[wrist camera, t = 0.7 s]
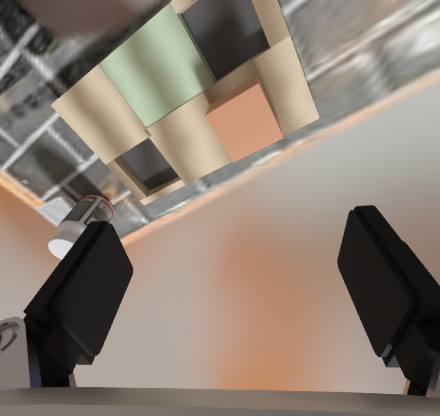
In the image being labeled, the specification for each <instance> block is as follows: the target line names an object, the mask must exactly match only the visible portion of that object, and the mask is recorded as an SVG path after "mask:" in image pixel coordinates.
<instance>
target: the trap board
mask: <svg viewBox="0 0 440 416" xmlns="http://www.w3.org/2000/svg"><path fill="white" fill-rule="evenodd" d="M255 76H258V78H259V81H260V83H261V85H262V87H263V89H264V92H265V94H266V96H267V98H268V100H269V103H270V105H271V107H272V109H273V111H274V114H275V116H276V118H277V120H278V122H279V125H280V128H281V131H282V134H283V136H285V135H287V134H289V133H291V132H293V131H295V130H297V129H299V128H301V127H303V126H305V125H307V124H309V123H311V122H313V121H315V120H317V119H319V115H318V113H317V110H316V107H315V104H314V101H313V99H312V96H311V93H310V90H309V87H308V84H307V82H306V79H305V76H304V73H303V70H302V68H301V65H300V62H299V59H298V56H297V54H296V51H295V48H294V45H293V42H292V40H291V37H290V34H289V31H288V28H287V26H286V23H285V20H284V17H283V14H282V11H281V9H280V6H279V3H278V0H172V1H171V2H170V3H169V4H168V5H167V6H165V7H164V8H163V9H162V10H161V11H160V12H159V13H157V14H156V15H155V16H154V17H153V18H152V19H150V20H149V21H148V22H147V23H146V24H145V25H143V26H142V27H141V28H140V29H139V30H138V31H136V32H135V33H134V34H133V35H132V36H131V37H130V38H128V39H127V40H126V41H125V42H124V43H123V44H121V45H120V46H119V47H118V48H117V49H116V50H114V51H113V52H112V53H111V54H110V55H109V56H108V57H106V58H105V59H104V60H103V61H102V62H101V63H99V64H98V65H97V66H96V67H94V68H93V69H92V70H91V71H90V72H89V73H88V74H86V75H85V76H84V77H83V78H82V79H81V80H79V81H78V82H77V83H76V84H75V85H74V86H72V87H71V88H70V89H69V90H68V91H67V92H65V93H64V94H63V95H62V96H61V97H60V98H59V99H57V100H56V101H55V102H54V103H53V104H52V105H51V106H52V108H53V109H54V110H55V111H56V112H57V113H58V114H59V115H60V116H61V117H62V118H63V119H64V120H65V121H66V123H67V124H68V125H69V126H70V127H71V128H72V129H73V130H74V131H75V132H76V133H77V134H78V135H79V136H80V138H81V139H82V140H83V141H84V142H85V143H86V144H87V145H88V146H89V147H90V148H91V149H92V150H93V151H94V153H95V154H96V155H97V156H98V157H99V158H100V159H101V160H102V161H103V162H104V163H105V164H106V165H107V166H108V168H109V169H110V170H111V171H112V172H113V173H114V174H115V175H116V176H117V177H118V178H119V179H120V180H121V181H122V182H123V184H124V185H125V186H126V187H127V188H128V189H129V190H130V191H131V192H132V193H133V194H134V195H135V196H136V197H137V199H138V200H139V201H140V202H141V203H142V204H143V205H146V204H148V203H150V202H152V201H154V200H156V199H158V198H160V197H162V196H164V195H166V194H168V193H170V192H172V191H174V190H176V189H178V188H180V187H182V186H184V185H186V184H188V183H190V182H192V181H194V180H196V179H198V178H200V177H202V176H204V175H206V174H208V173H210V172H212V171H214V170H216V169H218V168H220V167H222V166H224V165H226V164H228V163H230V162H232V159H231V158H230V156H229V155H228V153H227V151H226V150H225V148H224V146H223V145H222V143H221V141H220V140H219V138H218V136H217V135H216V133H215V132H214V130H213V128H212V127H211V125H210V123H209V122H208V120H207V118H206V117H205V114H206V112H207V109H208V107H209V105H210V104H211V103H213V102H215V101H216V100H218V99H219V98H221V97H223V96H224V95H226V94H228V93H229V92H231V91H232V90H234V89H236V88H237V87H239V86H240V85H242V84H244V83H245V82H247V81H249V80H250V79H252V78H253V77H255Z"/></svg>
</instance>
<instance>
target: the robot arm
mask: <svg viewBox="0 0 440 416" xmlns="http://www.w3.org/2000/svg"><path fill="white" fill-rule="evenodd" d="M337 263H338V268H339V270H340V273H341V275H342V278H343V280H344V282H345V285H346V287H347V289H348V292H349V294H350V296H351V299H352V301H353V303H354V306H355V308H356V310H357V313H358V315H359V317H360V320H361V322H362V324H363V327H364V329H365V331H366V333H367V336H368V338H369V340H370V343H371V345H372V348H373V350H374V352H375V354H376V355H377V356H378V357H382V359H383V361H384V364H385V366H386V367H400V368H401V370H402V372H403V374H404V376H405V378H407V381H406V385H405V388H404V391H403V394H402V395H401V394H377V393H353V392H351V393H350V392H316V391H313V392H312V391H275V390H272V391H271V390H227V389H174V388H173V389H172V388H104V387H77V386H76V382H75V377H74V373H73V370H74V368H75V366H76V364H78V365H92V362H93V360H94V358H95V356H97V355H98V354H99V353H100V351H101V349H102V347H103V345H104V342H105V340H106V337H107V335H108V332H109V330H110V328H111V325H112V323H113V320H114V318H115V316H116V313H117V311H118V309H119V306H120V304H121V301H122V299H123V297H124V294H125V292H126V289H127V287H128V284H129V282H130V280H131V277H132V275H133V267H132V264H131V262H130V260H129V258H128V256H127V254H126V252H125V250H124V248H123V246H122V243H121V241H120V239H119V237H118V235H117V233H116V231H115V229H114V227H113V225H112V224H109V222H108V221H92V222H90V223H89V224H88V226H87V227H86V228H85V230H84V231H83V232H82V234H81V235H80V236H79V238H78V239H77V240H76V242H75V243H74V244H73V246H72V247H71V248H70V250H69V251H68V252H67V254H66V255H65V256H64V258H63V259H62V261H61V262H60V263H59V265H58V266H57V267H56V268H55V270H54V271H53V272H52V274H51V275H50V277H49V278H48V279H47V281H46V282H45V283H44V285H43V286H42V287H41V288H40V290H39V291H38V292H37V294H36V295H35V297H34V298H33V299H32V301H31V302H30V303H29V305H28V306H27V307H26V309H25V310H24V313H25V314H26V316H25V318H24V319H21V318H19V317H12V318H7V319H4V320H2V321H0V416H440V286H439V284H438V283H437V282H436V281H435V279H434V278H433V277H432V275H431V274H430V273H429V272H428V271H427V269H426V268H425V267H424V265H423V264H422V263H421V261H420V260H419V259H418V258H417V257H416V255H415V254H414V253H413V251H412V250H411V249H410V248H409V246H408V245H407V244H406V243H405V242H404V241H402V240H401V239H400V237H399V236H398V235H397V234H396V232H395V231H394V230H393V228H392V227H391V226H390V225H389V223H388V222H387V221H386V220H385V218H384V217H383V216H382V214H381V213H380V212H379V210H377V208H376V207H375V206H373V205H370V206H369V205H368V206H356V207H355V208H354V210H351V211H350V212H349V215H348V219H347V223H346V227H345V231H344V235H343V240H342V244H341V248H340V252H339V256H338V261H337Z"/></svg>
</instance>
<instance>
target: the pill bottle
mask: <svg viewBox="0 0 440 416" xmlns="http://www.w3.org/2000/svg"><path fill="white" fill-rule="evenodd" d="M113 217H114V209H113V206H112V205H111V204H110V202H108V201H107V200H106V199H104V198H103V197H100V196H97V195H87V196H85V197H83V198H82V199H81V200H80V201H79V202H78V203H77V205H76V206H75V207H74V208H73V209H72V210H71V211H70V212H69V214H68V215H67V216H66V217H65V218H64V219H63V220H62V222H61V223H60V224H59V225H58V227H57V229H56V235H55V236H54V237H53V238H52V239H51V240H50V242H49V244H48V247H49V250H50V251H51V253H53V255H55V256H56V257H58V258H60V259H61V260H62V259H63V258H64V256H65V255H66V254H67V252H68V251H69V250H70V248H71V247H72V246H73V244H74V243H75V242H76V240H77V239H78V238H79V236H80V235H81V234H82V232H83V231H84V230H85V228H86V227H87V226H88V224H89V223H90V222H92V221H108V222H109V223H110V222H111V220H112V218H113Z"/></svg>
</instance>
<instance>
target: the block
mask: <svg viewBox="0 0 440 416" xmlns="http://www.w3.org/2000/svg"><path fill="white" fill-rule="evenodd" d="M205 117H206V118H207V120H208V122H209V123H210V125H211V127H212V128H213V130H214V132H215V133H216V135H217V136H218V138H219V140H220V141H221V143H222V145H223V146H224V148H225V150H226V151H227V153H228V155H229V156H230V158H231V159H232V161H233V163H234V162H236V161H238V160H240V159H242V158H244V157H246V156H248V155H250V154H252V153H254V152H256V151H258V150H260V149H262V148H264V147H266V146H268V145H270V144H272V143H274V142H276V141H278V140H280V139H282V138H284V137H283V134H282V131H281V128H280V125H279V122H278V120H277V118H276V116H275V114H274V111H273V109H272V107H271V105H270V103H269V100H268V98H267V96H266V94H265V92H264V89H263V87H262V85H261V83H260V81H259V78H258V76H255V77H253V78H252V79H250V80H249V81H247V82H245V83H244V84H242V85H240V86H239V87H237V88H236V89H234V90H232V91H231V92H229V93H228V94H226V95H224V96H223V97H221V98H219V99H218V100H216V101H215V102H213V103H211V104H210V105H209V107H208V109H207V112H206V114H205Z"/></svg>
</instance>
